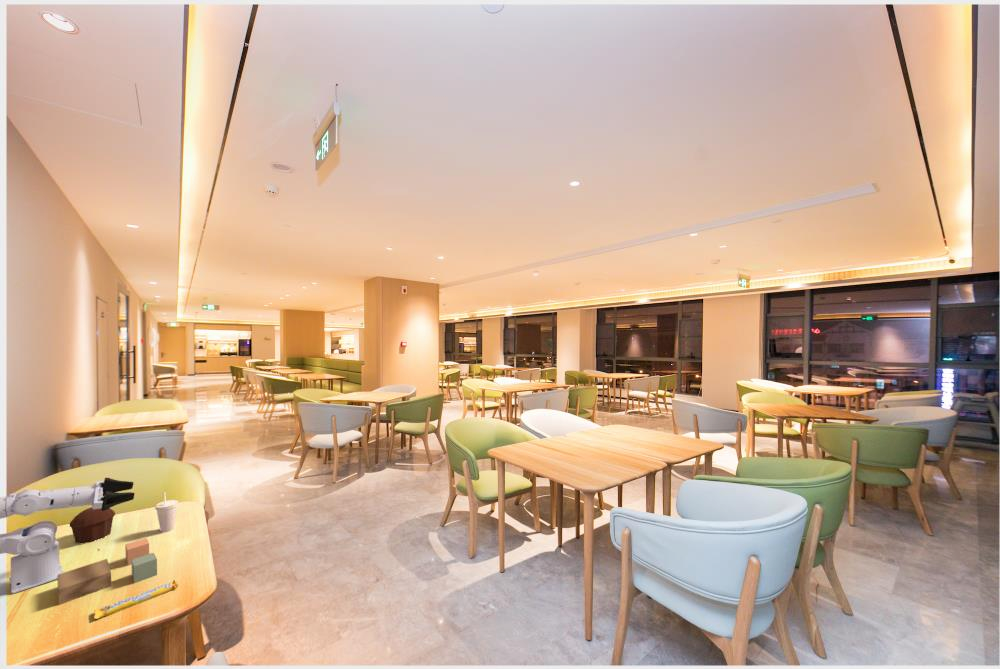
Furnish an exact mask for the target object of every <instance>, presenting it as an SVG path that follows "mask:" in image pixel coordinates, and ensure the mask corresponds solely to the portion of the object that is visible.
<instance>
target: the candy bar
mask: <svg viewBox="0 0 1000 669" xmlns="http://www.w3.org/2000/svg"><path fill="white" fill-rule="evenodd" d="M178 586H179V584H178V582H176V580H175V579H173V580H172V581H171V582H169V583H166V584H163V585H160V586H158V587H155V588H153V589H150V590H148V591H145V592H142V593H139V594H136V595H134V596H133V595H132V596H131V597H128V598H124V599H122V600H120V601H117V602H113V603H111V604H109V605H105V606H103V607H101V608H98V609H94V611H93V612H94V615H93V619H96V620H98V619H100V618H103V617H107V616H110V615H113V614H116V613H119V612H121V611H123V610H126V609H128V608H131V607H133V606H136V605H139V604H141V603H145V602H146V601H149V600H151V599H155V598H156V597H159V596H162V595H165V594H167V593H170V592H172V591H175V590H177V588H178Z"/></svg>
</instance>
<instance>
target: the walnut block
mask: <svg viewBox="0 0 1000 669" xmlns="http://www.w3.org/2000/svg"><path fill="white" fill-rule="evenodd" d="M108 560H109V559H108V558H105V559H102V560H100V561H96V562H93V563H90V564H87V565H84V566H81V567H78V568H74V569H71V570H68V571H65V572H62V573H61V574H58V579H57V593H58V595H57V596H58V605H62V604H65V603H68V602H71V601H73V600H76V599H79V598H81V597H84V596H87V595H90V594H92V593H96V592H98V591H101V590H103V589H107V588H109V587H112V572H111V567H110V564H109V561H108Z"/></svg>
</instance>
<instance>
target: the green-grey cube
mask: <svg viewBox="0 0 1000 669" xmlns="http://www.w3.org/2000/svg"><path fill="white" fill-rule="evenodd" d="M157 558H158V557H157V556H156V555H155V553H154V552H151V553H149V554H148V555H145V556H142V557H139V558H136V559H133V560H131V561H132V564H131V577H132V578H131V579H132V580H133V583H134V584H136V583H139V582H142V581H145V580H147V579H150V578H153V577H155V576H157V575H158V559H157Z"/></svg>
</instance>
